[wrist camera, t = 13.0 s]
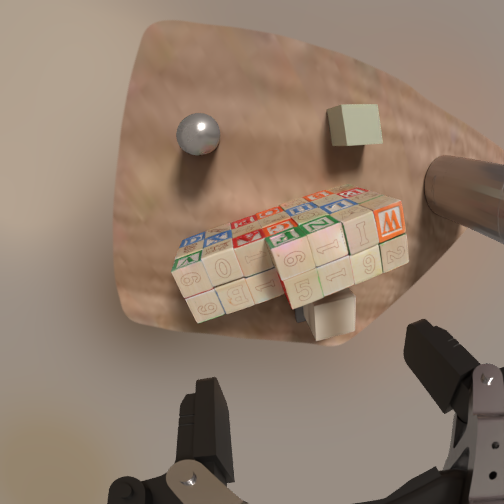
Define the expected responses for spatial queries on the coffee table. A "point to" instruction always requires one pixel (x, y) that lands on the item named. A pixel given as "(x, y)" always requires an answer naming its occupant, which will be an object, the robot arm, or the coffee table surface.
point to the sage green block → (355, 125)
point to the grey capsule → (198, 134)
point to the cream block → (331, 314)
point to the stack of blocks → (292, 252)
